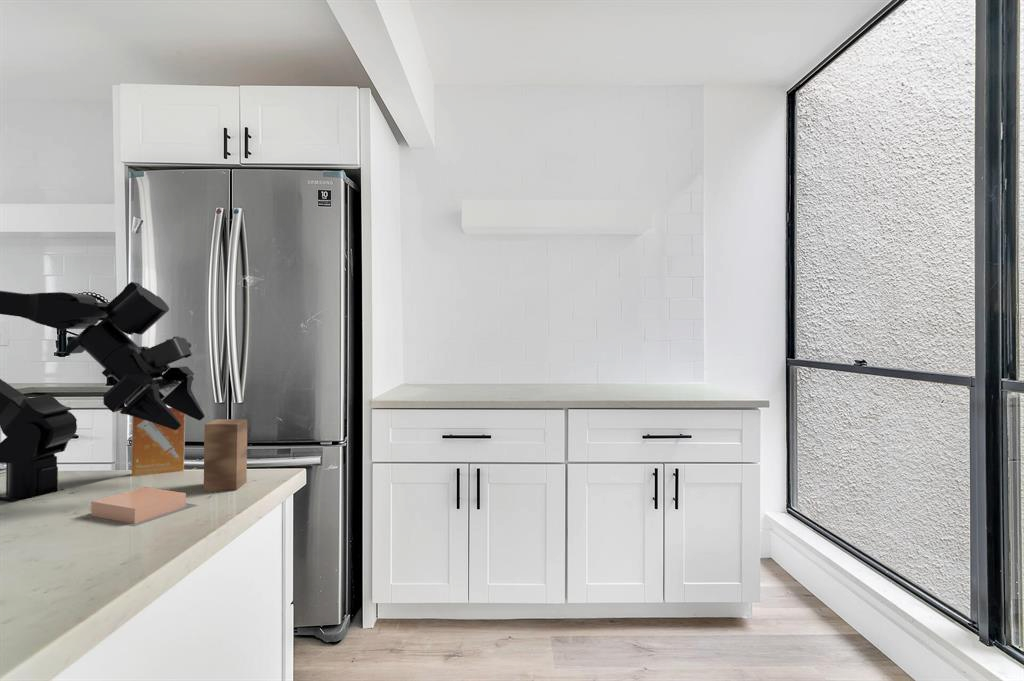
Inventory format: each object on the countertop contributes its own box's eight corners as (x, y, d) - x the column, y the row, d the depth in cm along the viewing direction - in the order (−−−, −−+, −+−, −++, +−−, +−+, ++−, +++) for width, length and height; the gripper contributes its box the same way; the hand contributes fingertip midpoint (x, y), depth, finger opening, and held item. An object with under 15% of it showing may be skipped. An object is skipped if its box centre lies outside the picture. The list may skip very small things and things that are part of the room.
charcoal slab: (81, 530, 79) (81, 516, 79) (148, 509, 89) (149, 496, 89) (133, 541, 76) (133, 526, 76) (198, 518, 85) (198, 505, 85)
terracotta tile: (91, 515, 79) (91, 501, 79) (144, 500, 87) (144, 487, 87) (134, 523, 77) (134, 508, 77) (185, 506, 84) (185, 493, 84)
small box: (131, 483, 100) (132, 408, 100) (131, 475, 105) (132, 404, 105) (184, 477, 104) (185, 406, 104) (182, 470, 110) (183, 402, 109)
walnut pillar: (203, 498, 92) (204, 424, 92) (215, 489, 97) (216, 419, 97) (236, 498, 93) (237, 424, 93) (246, 489, 98) (247, 419, 98)
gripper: (126, 319, 84) (205, 395, 86) (182, 320, 102) (246, 383, 104) (67, 372, 83) (148, 448, 85) (134, 364, 102) (200, 426, 103)
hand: (191, 422), depth 94 cm, fingers open, 9 cm apart
